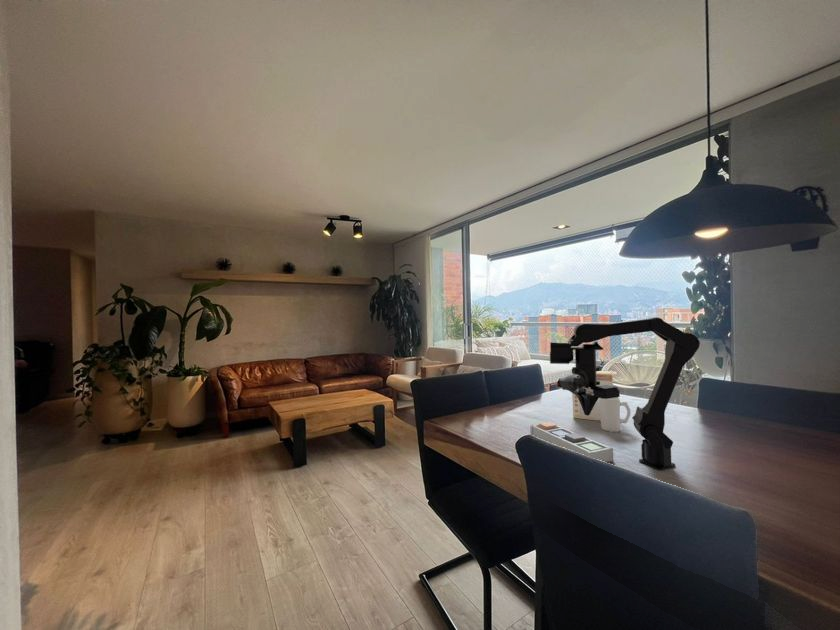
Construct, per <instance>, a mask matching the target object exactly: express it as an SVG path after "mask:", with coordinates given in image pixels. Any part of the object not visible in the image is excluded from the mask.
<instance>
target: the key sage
mask: <svg viewBox="0 0 840 630" xmlns="http://www.w3.org/2000/svg"><path fill="white" fill-rule="evenodd" d="M580 447H582V448H584V449H587V450H589V451H594V450H599V449H602V447H599V446H597V445H594V444H592V443H589V444H584V445H580Z"/></svg>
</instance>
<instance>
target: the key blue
mask: <svg viewBox="0 0 840 630" xmlns="http://www.w3.org/2000/svg"><path fill="white" fill-rule="evenodd" d="M551 434H554V435H556V436H558V437H560V436H565V435H566V434H569V433H566V432H564V431H562V430H559V431H554V432H551Z"/></svg>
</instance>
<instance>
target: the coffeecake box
mask: <svg viewBox="0 0 840 630" xmlns="http://www.w3.org/2000/svg"><path fill="white" fill-rule="evenodd" d="M596 378H597V381H600V385H596V386H602V385H610V386H613V385H614V384H613V382H614V379H613V371H609V370H608V371H607V370H599V371H596ZM589 388H590V387H589ZM571 395H572V398H571V400H572V418H573V419H579V420H580V419H581V420H589V421H597V422H601V418H600V401H599V398H598V400H597V402H596V403H595V405H594V407H593V409H592V411H591V413H590V415H588V416H587V415H585V414H584V411H583V409H582V406H581V404H580V401H579V399H578V397H577V396H576V395H575V394H573V393H572V394H571Z"/></svg>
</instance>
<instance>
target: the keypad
mask: <svg viewBox="0 0 840 630" xmlns="http://www.w3.org/2000/svg"><path fill="white" fill-rule="evenodd" d="M549 422H550V421H549ZM550 423H552V422H550ZM555 425H556V429H552V430H546V431H545V430H543V429H540V428H539V423H538V424H532V425H529V428H530V429H529V430H530V436H531V435H534V436H535V437H538V438H540V439H543V440H545V441H548V442H550V443H553V444H556V445H558V446H561V447H565V448H567V449H570V450H573V451H575V452H578V453H581V454H584V455H586V456H589V457H592V458H595V459H599V460H602V461H605V462H609V463H612V462H614V447H612V446H610V447H609V446H607V445H605V444H603V443H600V442H598V441H596V440H593V439H592V438H588V437H586V436H584V437H585V441H584V442H579V443H574V444H573V443H571V442H569V441H567V440H565V436H560V437H558V436H556V435H554V434H551V432H554V431H559V430H562V431H564V432H566V433H569V434H571V433H575V432H574V431H572V430H569V429H566V428H564V427H563V426H559V425H557V424H555ZM589 443H592V444H594V445H597V446H599V447H602V449H599V450H594V451H589V450H587V449H584V448H582V447H580V445H584V444H589Z"/></svg>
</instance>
